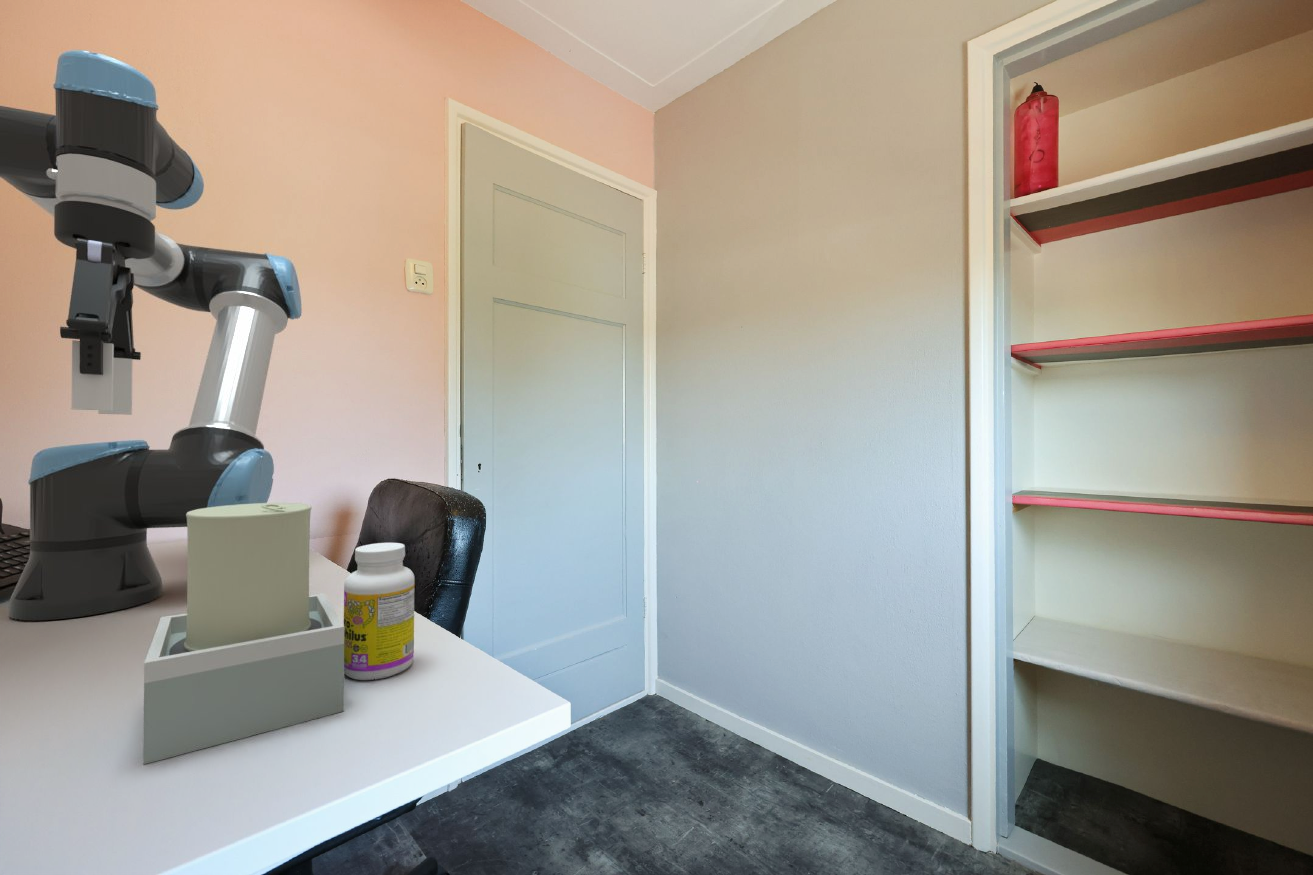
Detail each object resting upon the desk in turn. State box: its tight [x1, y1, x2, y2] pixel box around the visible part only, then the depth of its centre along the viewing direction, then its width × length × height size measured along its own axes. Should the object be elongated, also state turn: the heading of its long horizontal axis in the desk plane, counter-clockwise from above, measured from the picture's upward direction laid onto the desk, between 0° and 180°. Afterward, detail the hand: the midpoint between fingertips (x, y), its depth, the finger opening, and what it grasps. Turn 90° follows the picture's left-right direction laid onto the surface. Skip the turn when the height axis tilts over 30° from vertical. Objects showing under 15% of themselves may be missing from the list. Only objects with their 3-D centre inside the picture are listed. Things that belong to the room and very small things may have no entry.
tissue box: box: [142, 592, 345, 765], centre depth 49 cm, size 13×13×8 cm
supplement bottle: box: [343, 542, 415, 681], centre depth 57 cm, size 7×7×13 cm
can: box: [184, 502, 312, 652], centre depth 50 cm, size 9×9×12 cm
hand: (105, 412), depth 58 cm, fingers open, 13 cm apart
